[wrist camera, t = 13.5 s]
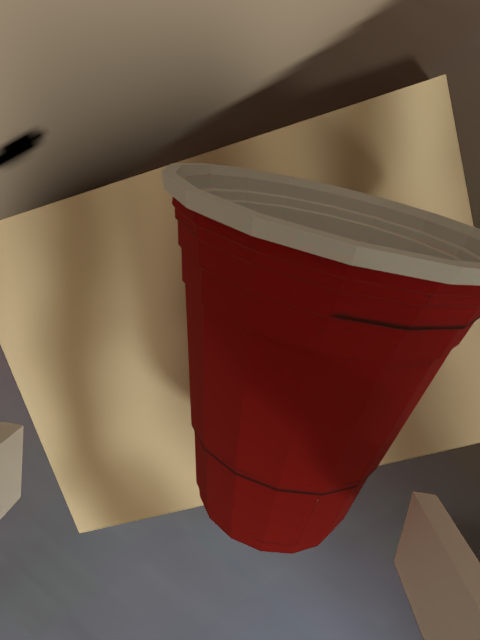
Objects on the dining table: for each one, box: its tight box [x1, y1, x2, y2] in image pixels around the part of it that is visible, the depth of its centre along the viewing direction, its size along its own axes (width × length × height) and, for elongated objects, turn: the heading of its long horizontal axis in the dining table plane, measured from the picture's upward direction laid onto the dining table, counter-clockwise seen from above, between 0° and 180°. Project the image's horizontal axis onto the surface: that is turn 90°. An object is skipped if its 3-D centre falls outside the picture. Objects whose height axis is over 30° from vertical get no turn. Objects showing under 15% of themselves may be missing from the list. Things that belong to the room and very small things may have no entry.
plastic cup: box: [162, 163, 480, 554], centre depth 15 cm, size 11×11×12 cm
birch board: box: [0, 74, 480, 533], centre depth 20 cm, size 22×16×1 cm
